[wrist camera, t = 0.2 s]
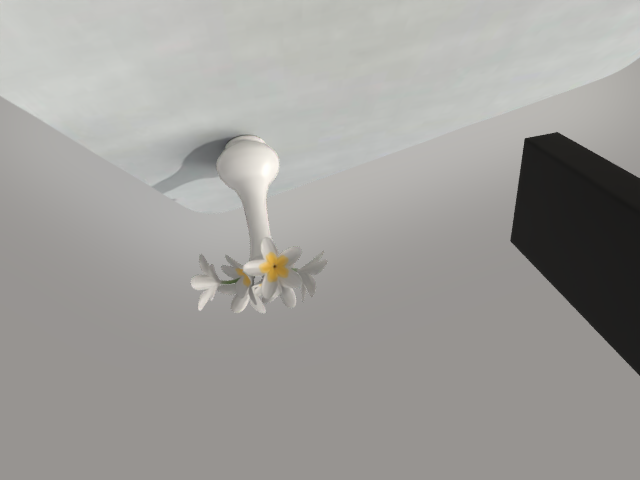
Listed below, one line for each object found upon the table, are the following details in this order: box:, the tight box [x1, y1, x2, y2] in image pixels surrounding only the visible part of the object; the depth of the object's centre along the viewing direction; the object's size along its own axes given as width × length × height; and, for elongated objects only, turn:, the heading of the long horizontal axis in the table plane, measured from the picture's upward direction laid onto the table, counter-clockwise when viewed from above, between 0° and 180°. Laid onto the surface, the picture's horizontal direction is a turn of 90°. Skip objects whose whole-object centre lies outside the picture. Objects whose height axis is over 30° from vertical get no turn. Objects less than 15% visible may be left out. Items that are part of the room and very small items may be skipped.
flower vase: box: [191, 135, 327, 313], centre depth 64 cm, size 13×18×25 cm
